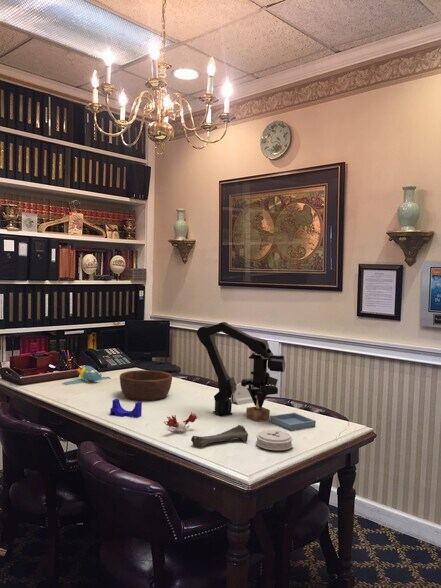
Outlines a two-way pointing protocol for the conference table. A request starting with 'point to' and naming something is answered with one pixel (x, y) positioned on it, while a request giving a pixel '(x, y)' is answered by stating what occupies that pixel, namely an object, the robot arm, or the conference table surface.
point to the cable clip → (121, 412)
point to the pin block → (257, 414)
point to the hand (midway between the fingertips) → (258, 406)
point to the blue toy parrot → (87, 376)
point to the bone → (221, 436)
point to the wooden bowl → (145, 384)
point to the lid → (274, 440)
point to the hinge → (241, 395)
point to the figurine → (179, 423)
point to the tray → (292, 421)
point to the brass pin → (257, 403)
